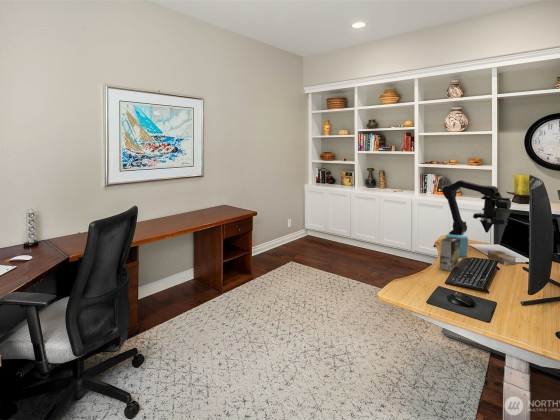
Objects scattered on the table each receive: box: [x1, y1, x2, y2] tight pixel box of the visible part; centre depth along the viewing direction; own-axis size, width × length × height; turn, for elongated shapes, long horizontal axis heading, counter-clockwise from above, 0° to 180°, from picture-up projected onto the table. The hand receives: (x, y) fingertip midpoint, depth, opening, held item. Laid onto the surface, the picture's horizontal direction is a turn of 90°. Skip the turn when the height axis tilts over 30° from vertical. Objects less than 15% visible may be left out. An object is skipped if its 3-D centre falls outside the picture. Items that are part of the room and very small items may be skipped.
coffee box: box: [438, 237, 460, 272], centre depth 183 cm, size 9×6×16 cm
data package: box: [444, 233, 469, 258], centre depth 203 cm, size 12×4×12 cm, turn 64°
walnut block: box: [487, 250, 517, 266], centre depth 193 cm, size 4×7×12 cm
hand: (486, 232), depth 207 cm, fingers closed
